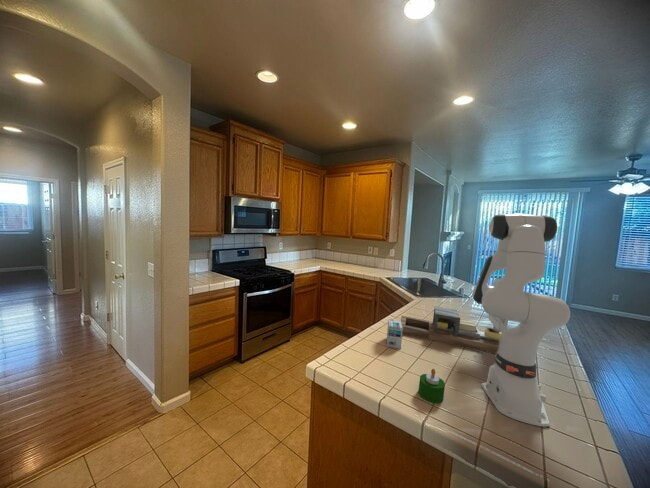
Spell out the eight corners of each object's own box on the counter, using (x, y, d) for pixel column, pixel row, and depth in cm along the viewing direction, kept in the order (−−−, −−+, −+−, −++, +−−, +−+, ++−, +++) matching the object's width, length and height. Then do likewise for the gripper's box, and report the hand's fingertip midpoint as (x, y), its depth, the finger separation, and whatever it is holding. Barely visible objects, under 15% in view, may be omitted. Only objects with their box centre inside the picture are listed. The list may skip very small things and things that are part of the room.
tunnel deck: (512, 357, 124) (516, 329, 123) (398, 332, 144) (400, 308, 142) (502, 342, 141) (505, 317, 140) (401, 321, 160) (403, 300, 159)
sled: (502, 343, 129) (503, 335, 129) (434, 329, 141) (435, 322, 140) (497, 336, 137) (498, 328, 137) (433, 323, 149) (434, 316, 149)
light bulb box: (401, 349, 124) (403, 328, 123) (386, 347, 125) (389, 325, 124) (399, 339, 135) (401, 320, 134) (386, 337, 136) (388, 318, 135)
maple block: (474, 337, 135) (476, 326, 134) (455, 333, 138) (457, 322, 138) (472, 332, 141) (474, 322, 140) (454, 329, 144) (455, 319, 143)
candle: (430, 405, 86) (434, 377, 85) (413, 390, 93) (416, 364, 93) (448, 400, 89) (451, 373, 88) (430, 385, 97) (433, 360, 96)
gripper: (513, 316, 122) (509, 344, 123) (500, 304, 141) (497, 328, 142) (497, 314, 124) (494, 341, 125) (487, 302, 143) (484, 326, 144)
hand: (495, 334), depth 134 cm, fingers closed, pressing on sled
